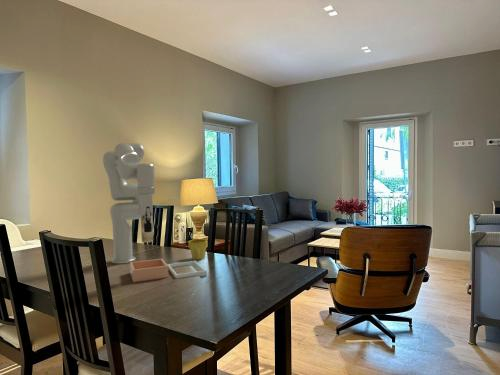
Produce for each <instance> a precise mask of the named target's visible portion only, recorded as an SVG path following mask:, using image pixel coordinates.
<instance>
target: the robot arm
mask: <svg viewBox="0 0 500 375" xmlns="http://www.w3.org/2000/svg"><path fill="white" fill-rule="evenodd" d="M144 156H145V149H144V146H142V144H140V143H137V142H120V143H118V144H116V145H115V147H114V150H111V151H110V150H109V151H107V152H105V153H104V154H103V158H102V162H103V167H104V170H105V172H106V174H107V176H108V184H109V189H110V191H109V192H110V195H111V199H112V200H113V201H115V202H116V203H114V204H113V205H111V207H110V210H109V213H110V217H111V223H112V224H111V225H112V244H113V258H111V259H110V263H112V264H117V265H118V264H119V265H121V264H128V263H129V264H130V262H136V257H135V256H133V236H132V235H133V232H132V226H131V225H130V224H129V223H128V221H130V220H141V216H142V217H143V216H144V220H145V223H144V232H152V223H151V216H152V215H154V214H153V213H154V209H153V208H154V207H153V206H154V205H153V204H154V203H153V195H155V194H156V192H155V191H156V190H155V166H154V164H152V163H146V162H145V163H142V162H141V161H142V160H143V158H144ZM140 162H141V163H140ZM129 180H130V181H131V180H133V181H134V180H136V182H133V183H130V182H129V183H128V182H127V181H129ZM125 201H126V202H125ZM129 201H130V202H129ZM131 201H132V202H131ZM117 202H118V203H117ZM145 215H147V216H145Z"/></svg>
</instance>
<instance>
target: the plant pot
mask: <svg viewBox="0 0 500 375" xmlns="http://www.w3.org/2000/svg"><path fill="white" fill-rule="evenodd" d="M188 248H189V250H190V253H191V258H192V260H193V261H197V260H198V261H199V260H204V259H205V258H206V251H207V248H208V240H207V239H206V238H205V239H204V238H203V239H201V238H198V239H197V238H196V239H191V240H188Z"/></svg>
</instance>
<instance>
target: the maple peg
mask: <svg viewBox="0 0 500 375" xmlns="http://www.w3.org/2000/svg"><path fill="white" fill-rule="evenodd" d="M153 215H154V214H153ZM153 215H152V216H151V223H152V232H144V223H145V220H144V216H143V217H142V216H141V218H140V222H141V225H140V226H141V227H140V228H141V242H142V243H152V242H154V222H153V221H154V220H153V218H154V217H153ZM145 216H147V215H145Z"/></svg>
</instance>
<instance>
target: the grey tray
mask: <svg viewBox="0 0 500 375" xmlns="http://www.w3.org/2000/svg"><path fill="white" fill-rule="evenodd" d="M166 264H167V265H168V271H170V273H171V274H172V276H173V277H174V278H175V279H182V278H189V277H195V276H198V277H199V278H203V277H204V278H205V277H207V273H208V272H207V269H205V268H204V267H203V266H202V265H200V263H198V261H197V260H190V261H183V262H174V263H166ZM184 266H188V267H189V268H190V269H191V270H192V272H191V271H190V272H185V273H177V272H176V270H175V269H174V268H176V267H184Z"/></svg>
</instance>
